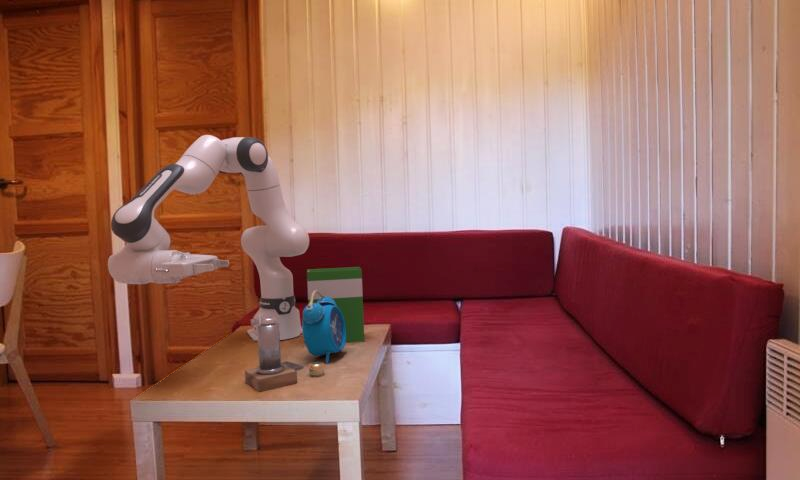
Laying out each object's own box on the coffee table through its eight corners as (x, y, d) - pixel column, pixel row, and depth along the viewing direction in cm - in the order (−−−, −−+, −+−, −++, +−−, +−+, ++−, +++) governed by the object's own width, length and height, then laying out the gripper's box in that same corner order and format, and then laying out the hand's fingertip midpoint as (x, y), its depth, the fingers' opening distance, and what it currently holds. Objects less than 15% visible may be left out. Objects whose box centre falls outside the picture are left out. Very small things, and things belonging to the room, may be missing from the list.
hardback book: (362, 336, 185) (359, 266, 183) (364, 341, 178) (361, 269, 176) (310, 340, 182) (307, 269, 181) (310, 345, 175) (306, 272, 173)
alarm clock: (334, 365, 151) (331, 295, 150) (299, 364, 153) (296, 295, 152) (351, 349, 168) (348, 286, 166) (319, 349, 170) (317, 286, 168)
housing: (252, 370, 139) (249, 318, 138) (278, 365, 143) (275, 314, 142) (262, 376, 133) (259, 322, 132) (288, 371, 137) (286, 318, 136)
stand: (245, 381, 139) (244, 370, 139) (281, 373, 145) (281, 362, 145) (259, 391, 131) (258, 379, 131) (297, 382, 137) (296, 371, 137)
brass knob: (306, 374, 144) (306, 363, 144) (320, 371, 146) (319, 360, 146) (313, 378, 141) (312, 366, 141) (327, 375, 143) (326, 363, 143)
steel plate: (268, 370, 151) (268, 366, 151) (286, 365, 155) (286, 361, 155) (285, 375, 145) (285, 371, 145) (303, 370, 150) (303, 365, 150)
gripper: (149, 258, 133) (203, 257, 132) (187, 251, 153) (234, 250, 152) (150, 284, 133) (205, 282, 132) (188, 273, 154) (235, 272, 153)
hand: (221, 265), depth 142 cm, fingers open, 8 cm apart
